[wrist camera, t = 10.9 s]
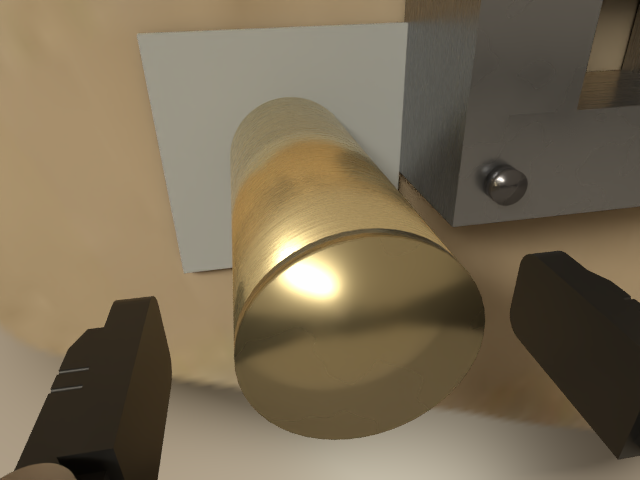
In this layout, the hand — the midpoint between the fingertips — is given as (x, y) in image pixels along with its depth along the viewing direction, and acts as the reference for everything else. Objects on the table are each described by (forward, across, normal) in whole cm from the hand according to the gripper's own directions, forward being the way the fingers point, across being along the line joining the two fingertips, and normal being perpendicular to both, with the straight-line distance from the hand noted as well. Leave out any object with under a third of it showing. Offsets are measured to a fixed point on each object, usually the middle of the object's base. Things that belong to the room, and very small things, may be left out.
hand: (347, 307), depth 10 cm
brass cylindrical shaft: (+11, 0, 0) cm, 11 cm away
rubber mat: (+11, 0, 0) cm, 11 cm away
